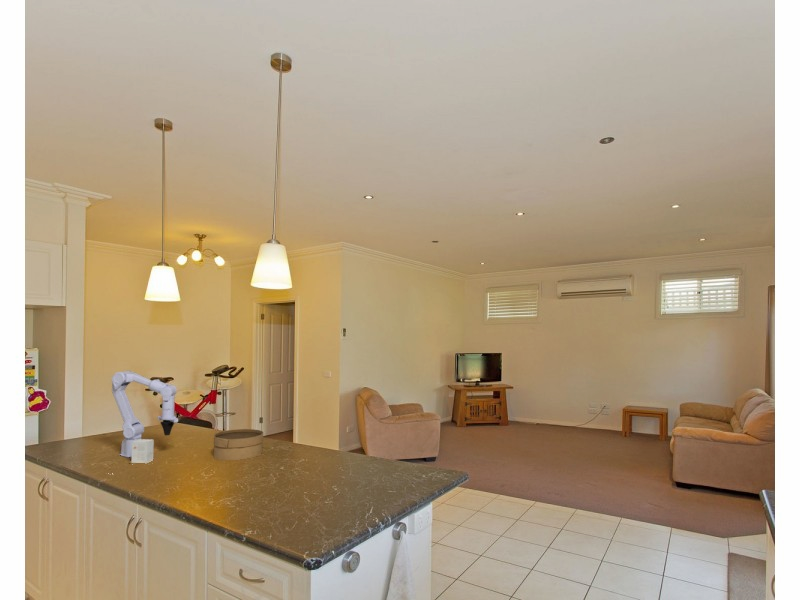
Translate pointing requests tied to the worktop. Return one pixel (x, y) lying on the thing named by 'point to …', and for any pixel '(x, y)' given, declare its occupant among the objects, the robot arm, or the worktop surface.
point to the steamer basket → (238, 444)
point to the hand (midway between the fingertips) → (167, 435)
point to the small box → (142, 451)
